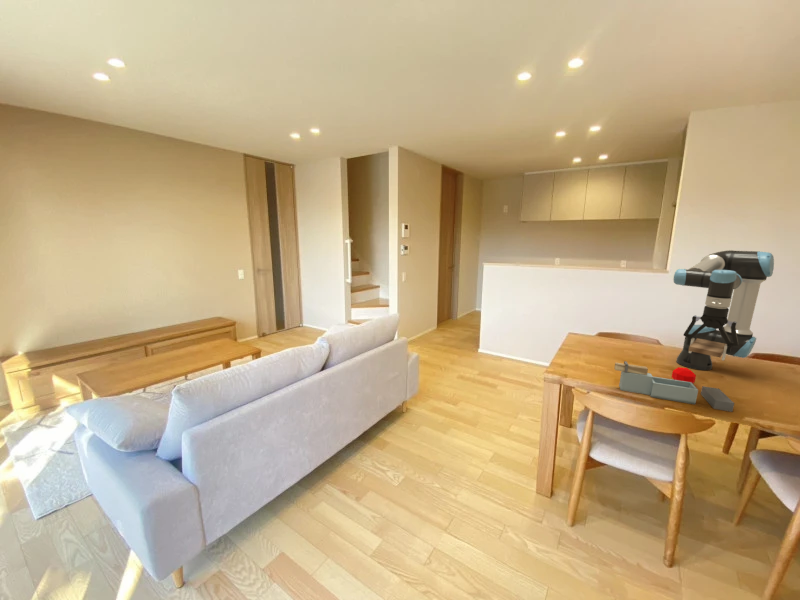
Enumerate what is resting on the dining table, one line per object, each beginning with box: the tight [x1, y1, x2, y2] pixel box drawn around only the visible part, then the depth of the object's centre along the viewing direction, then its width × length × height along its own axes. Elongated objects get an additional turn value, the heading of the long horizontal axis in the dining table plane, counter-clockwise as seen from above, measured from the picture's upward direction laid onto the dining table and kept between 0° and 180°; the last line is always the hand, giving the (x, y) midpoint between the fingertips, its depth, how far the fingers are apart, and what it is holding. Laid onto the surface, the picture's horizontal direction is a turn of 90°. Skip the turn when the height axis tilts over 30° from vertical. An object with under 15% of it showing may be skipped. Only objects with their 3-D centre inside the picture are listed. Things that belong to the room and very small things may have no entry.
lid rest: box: [700, 385, 735, 413], centre depth 145 cm, size 14×6×4 cm, turn 156°
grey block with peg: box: [618, 360, 654, 396], centre depth 155 cm, size 4×12×13 cm, turn 66°
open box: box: [649, 376, 699, 405], centre depth 150 cm, size 8×16×7 cm, turn 66°
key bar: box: [614, 362, 649, 375], centre depth 155 cm, size 2×12×3 cm, turn 66°
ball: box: [671, 366, 697, 385], centre depth 163 cm, size 8×8×8 cm
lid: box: [688, 338, 725, 358], centre depth 143 cm, size 10×16×2 cm, turn 129°
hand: (706, 355), depth 143 cm, fingers closed on lid, 10 cm apart
